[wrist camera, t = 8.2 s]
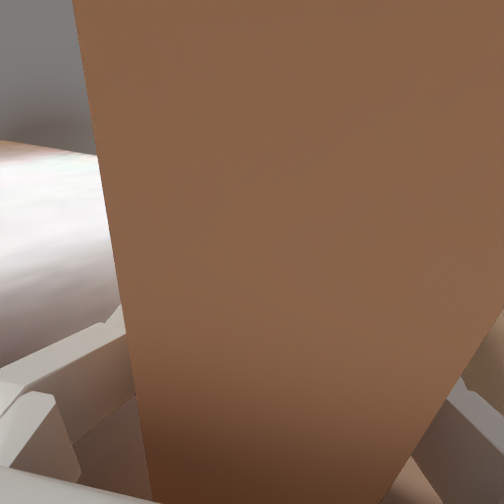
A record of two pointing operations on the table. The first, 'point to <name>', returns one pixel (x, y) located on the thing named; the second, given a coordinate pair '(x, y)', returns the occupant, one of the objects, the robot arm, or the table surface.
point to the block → (297, 230)
